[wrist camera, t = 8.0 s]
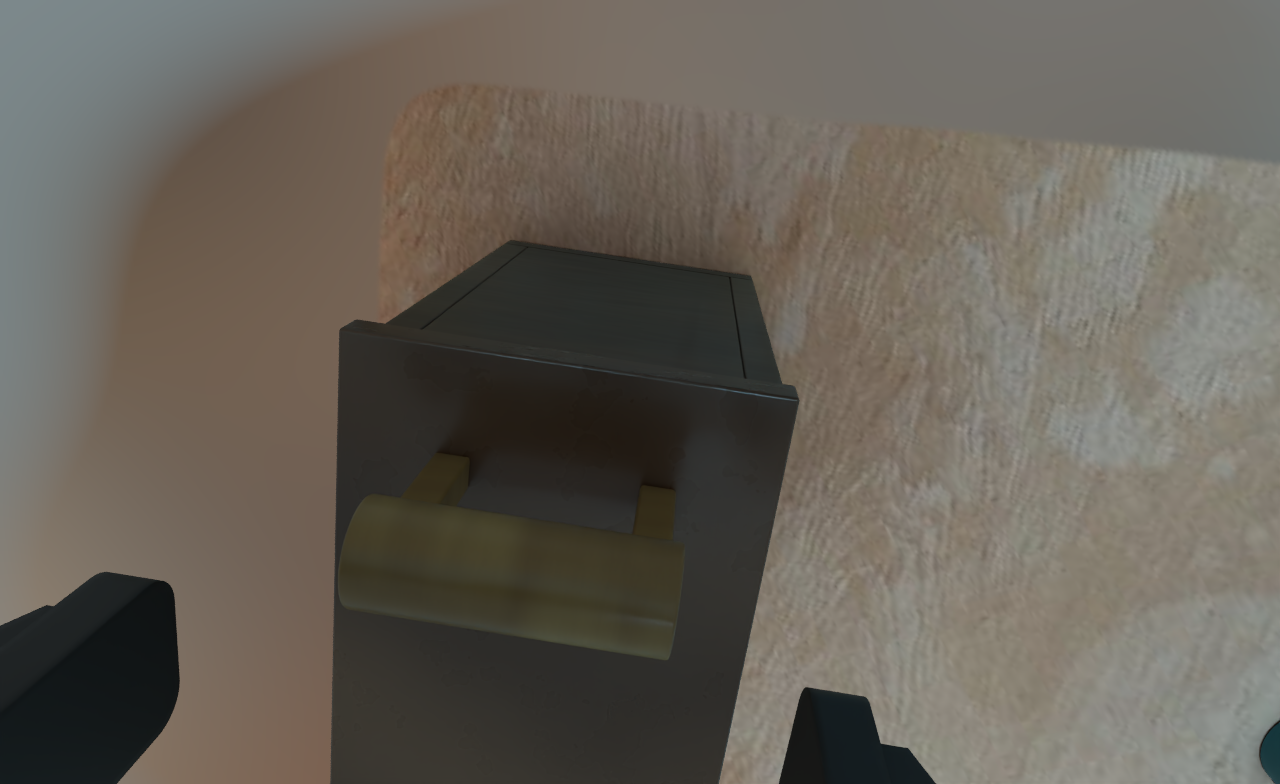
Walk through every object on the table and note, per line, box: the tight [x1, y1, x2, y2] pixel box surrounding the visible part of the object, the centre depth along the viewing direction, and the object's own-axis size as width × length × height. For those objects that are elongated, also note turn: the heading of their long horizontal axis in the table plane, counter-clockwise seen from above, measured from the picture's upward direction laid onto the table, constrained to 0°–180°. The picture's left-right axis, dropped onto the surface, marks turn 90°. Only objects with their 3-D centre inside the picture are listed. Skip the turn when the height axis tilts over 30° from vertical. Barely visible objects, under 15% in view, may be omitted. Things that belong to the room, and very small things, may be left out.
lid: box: [330, 320, 799, 784], centre depth 15 cm, size 11×9×5 cm
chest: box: [386, 240, 782, 384], centre depth 24 cm, size 11×9×14 cm
